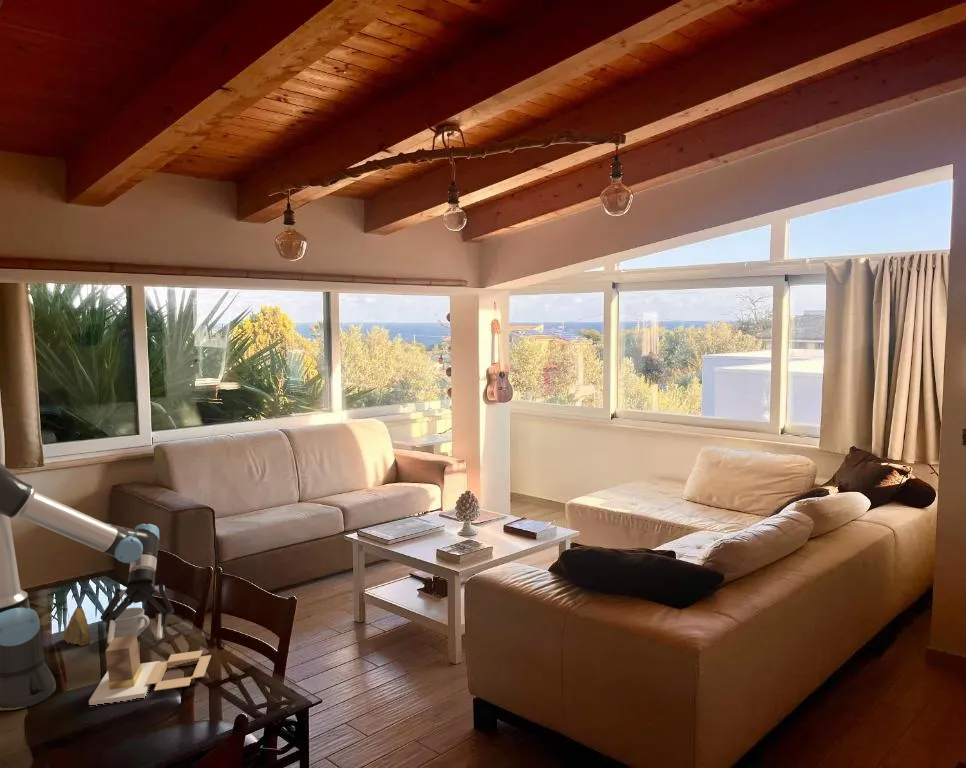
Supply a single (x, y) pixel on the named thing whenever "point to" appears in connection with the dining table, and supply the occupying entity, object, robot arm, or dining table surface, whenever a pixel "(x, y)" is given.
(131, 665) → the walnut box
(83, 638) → the rock
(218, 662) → the dining table surface
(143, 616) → the teacup
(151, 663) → the board
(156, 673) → the carton
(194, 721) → the dining table surface
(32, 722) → the dining table surface
